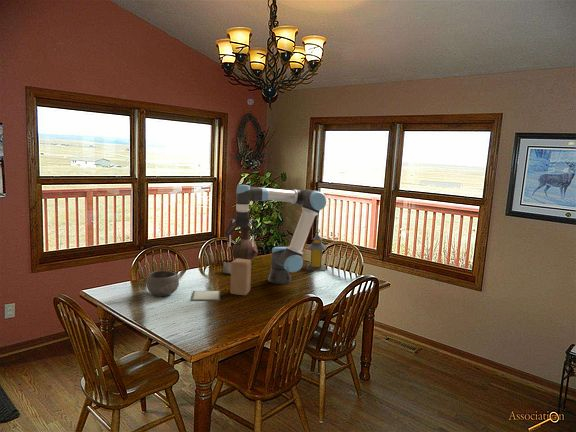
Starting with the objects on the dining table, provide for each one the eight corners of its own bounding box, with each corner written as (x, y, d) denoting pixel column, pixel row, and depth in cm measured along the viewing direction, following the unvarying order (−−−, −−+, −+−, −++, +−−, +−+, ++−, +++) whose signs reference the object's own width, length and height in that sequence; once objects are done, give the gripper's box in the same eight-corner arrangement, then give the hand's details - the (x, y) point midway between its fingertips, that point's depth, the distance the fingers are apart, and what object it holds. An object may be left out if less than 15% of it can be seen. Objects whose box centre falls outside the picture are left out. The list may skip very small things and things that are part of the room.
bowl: (184, 292, 251) (184, 271, 249) (166, 301, 234) (166, 279, 232) (159, 288, 256) (159, 268, 255) (139, 297, 239) (139, 275, 238)
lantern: (307, 265, 327) (309, 227, 322) (325, 266, 325) (327, 228, 320) (305, 269, 313) (307, 230, 308) (324, 271, 311) (327, 231, 307)
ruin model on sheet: (239, 274, 295) (239, 260, 293) (237, 275, 292) (237, 261, 290) (225, 272, 299) (225, 258, 298) (222, 273, 296) (223, 259, 295)
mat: (220, 291, 255) (220, 290, 255) (220, 300, 239) (220, 299, 239) (193, 291, 253) (193, 290, 252) (191, 300, 237) (191, 299, 237)
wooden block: (245, 296, 249) (246, 263, 246) (229, 294, 251) (230, 261, 248) (250, 291, 259) (251, 259, 256) (235, 289, 261) (236, 257, 258)
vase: (223, 262, 324) (224, 223, 319) (239, 257, 341) (240, 221, 337) (250, 267, 312) (251, 227, 307) (265, 262, 329) (266, 224, 325)
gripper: (263, 210, 253) (261, 245, 256) (221, 209, 250) (220, 244, 253) (264, 212, 246) (262, 248, 249) (221, 211, 242) (220, 247, 245)
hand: (241, 246), depth 251 cm, fingers open, 13 cm apart
